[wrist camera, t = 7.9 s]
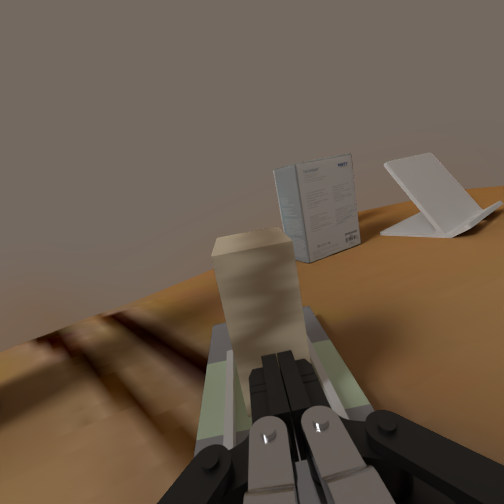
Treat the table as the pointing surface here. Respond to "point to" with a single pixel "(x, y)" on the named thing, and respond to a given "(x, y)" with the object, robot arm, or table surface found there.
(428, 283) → the table surface
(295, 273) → the maple block
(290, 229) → the hard drive box
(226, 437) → the track
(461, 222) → the tablet stand
